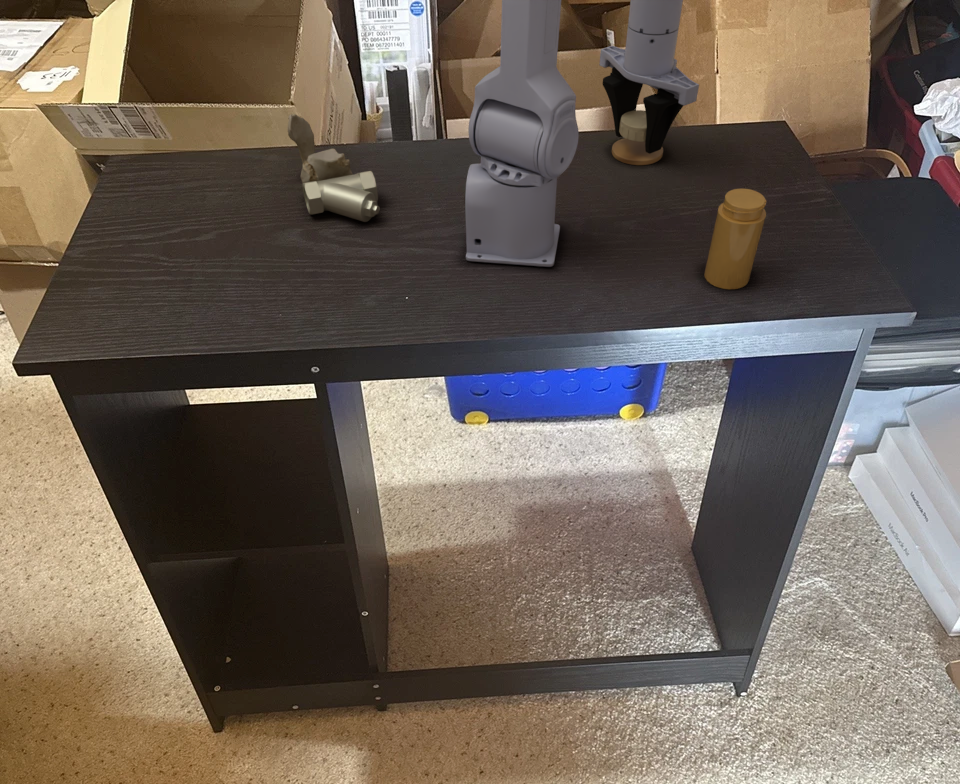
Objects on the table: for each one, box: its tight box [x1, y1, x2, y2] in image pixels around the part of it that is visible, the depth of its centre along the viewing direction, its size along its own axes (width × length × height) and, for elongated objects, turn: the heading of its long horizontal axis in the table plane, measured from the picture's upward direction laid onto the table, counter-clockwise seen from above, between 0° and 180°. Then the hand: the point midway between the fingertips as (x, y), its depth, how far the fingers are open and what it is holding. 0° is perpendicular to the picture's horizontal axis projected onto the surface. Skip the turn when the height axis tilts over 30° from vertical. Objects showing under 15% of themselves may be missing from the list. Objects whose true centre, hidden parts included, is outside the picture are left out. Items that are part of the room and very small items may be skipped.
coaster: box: [611, 137, 664, 166], centre depth 105 cm, size 6×6×1 cm
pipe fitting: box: [301, 170, 381, 223], centre depth 95 cm, size 8×4×7 cm
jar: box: [703, 188, 767, 290], centre depth 84 cm, size 5×5×9 cm
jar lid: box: [619, 109, 647, 142], centre depth 103 cm, size 5×5×2 cm
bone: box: [287, 113, 354, 183], centre depth 98 cm, size 9×6×10 cm
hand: (638, 142), depth 104 cm, fingers closed on jar lid, 5 cm apart
